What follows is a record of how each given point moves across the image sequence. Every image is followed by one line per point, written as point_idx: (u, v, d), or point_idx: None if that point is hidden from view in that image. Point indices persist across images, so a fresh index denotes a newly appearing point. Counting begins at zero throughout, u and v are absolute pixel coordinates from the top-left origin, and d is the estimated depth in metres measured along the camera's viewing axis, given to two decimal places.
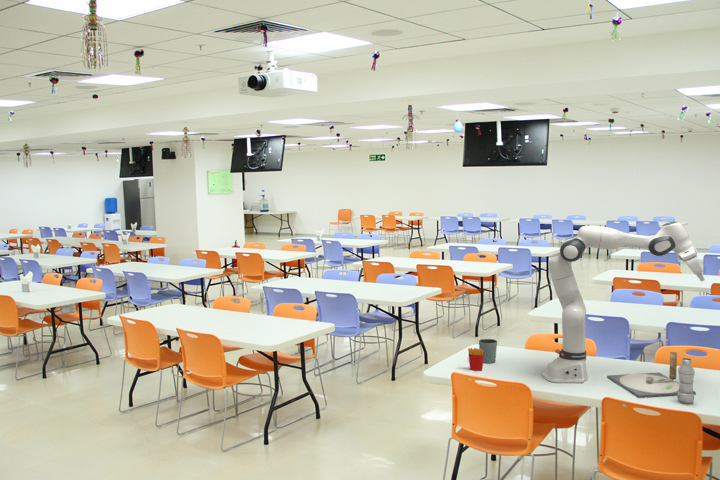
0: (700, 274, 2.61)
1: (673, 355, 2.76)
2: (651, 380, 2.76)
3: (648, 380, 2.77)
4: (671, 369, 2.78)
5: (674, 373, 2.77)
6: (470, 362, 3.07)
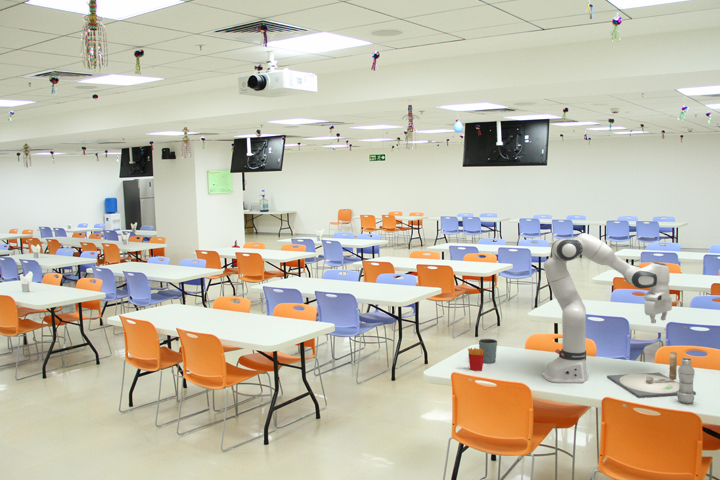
0: (652, 317, 2.82)
1: (673, 355, 2.76)
2: (651, 380, 2.76)
3: (648, 380, 2.77)
4: (671, 369, 2.78)
5: (674, 373, 2.77)
6: (470, 362, 3.07)
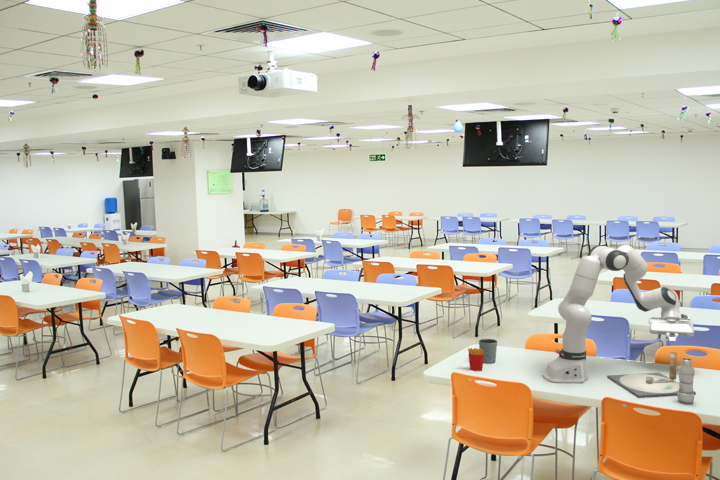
0: (677, 336, 2.90)
1: (673, 355, 2.76)
2: (651, 380, 2.76)
3: (648, 380, 2.77)
4: (671, 369, 2.78)
5: (674, 373, 2.77)
6: (470, 362, 3.07)
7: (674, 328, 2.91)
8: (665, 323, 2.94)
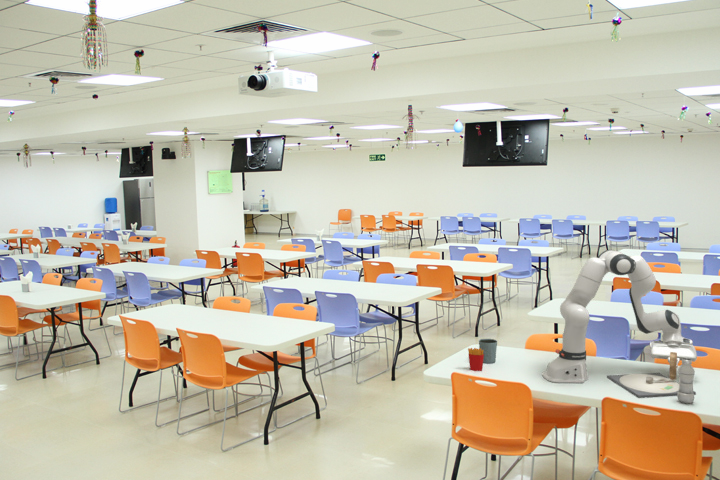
0: None
1: (673, 355, 2.76)
2: (651, 380, 2.76)
3: (648, 380, 2.77)
4: (671, 369, 2.78)
5: (674, 373, 2.77)
6: (470, 362, 3.07)
7: (676, 352, 2.82)
8: (666, 347, 2.86)
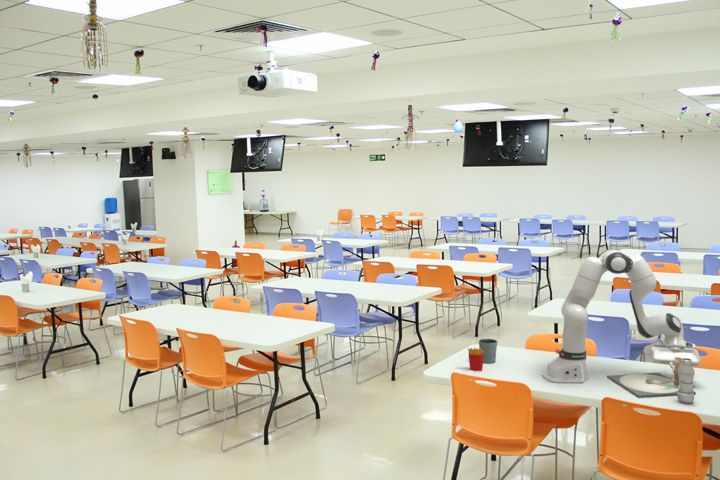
0: None
1: (675, 360, 2.69)
2: (649, 380, 2.77)
3: (646, 379, 2.78)
4: (674, 374, 2.70)
5: (676, 379, 2.69)
6: (470, 362, 3.07)
7: None
8: (668, 351, 2.78)
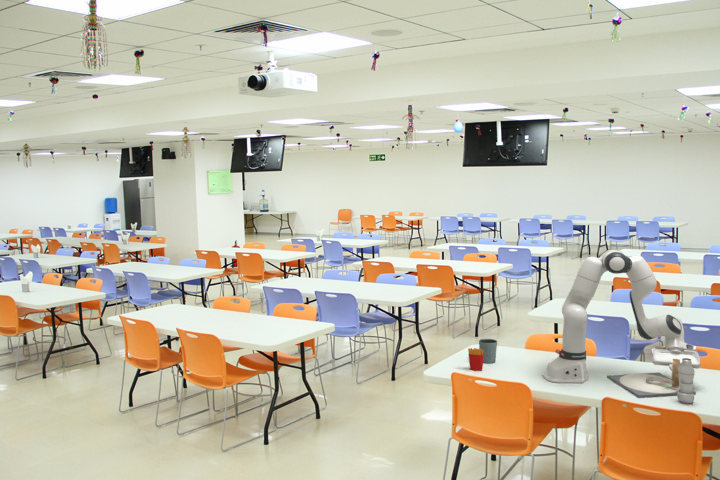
0: None
1: (673, 361, 2.67)
2: (648, 380, 2.77)
3: (646, 379, 2.78)
4: (672, 375, 2.69)
5: (674, 380, 2.67)
6: (470, 362, 3.07)
7: (679, 359, 2.72)
8: (669, 353, 2.75)
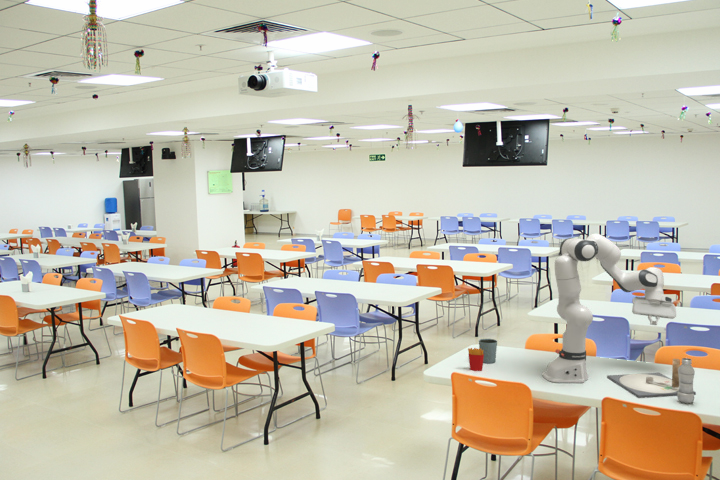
0: None
1: (673, 361, 2.67)
2: (648, 380, 2.77)
3: (646, 379, 2.78)
4: (672, 375, 2.69)
5: (674, 380, 2.67)
6: (470, 362, 3.07)
7: (657, 311, 2.90)
8: (648, 304, 2.92)
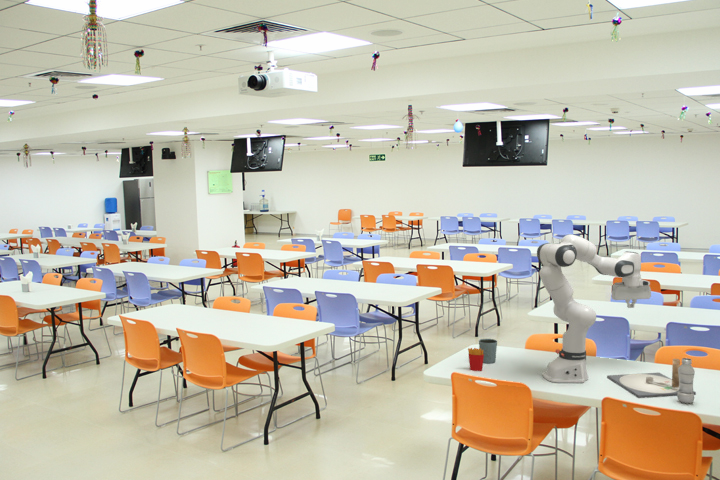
0: None
1: (673, 361, 2.67)
2: (648, 380, 2.77)
3: (646, 379, 2.78)
4: (672, 375, 2.69)
5: (674, 380, 2.67)
6: (470, 362, 3.07)
7: (635, 295, 2.99)
8: (627, 290, 2.98)
